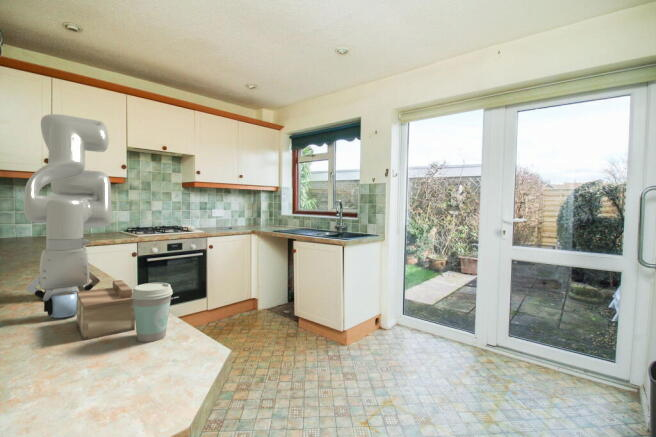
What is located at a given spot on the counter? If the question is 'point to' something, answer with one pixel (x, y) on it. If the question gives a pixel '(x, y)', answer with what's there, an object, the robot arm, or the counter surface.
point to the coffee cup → (151, 310)
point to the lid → (106, 296)
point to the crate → (105, 320)
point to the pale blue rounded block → (64, 304)
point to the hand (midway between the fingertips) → (64, 310)
